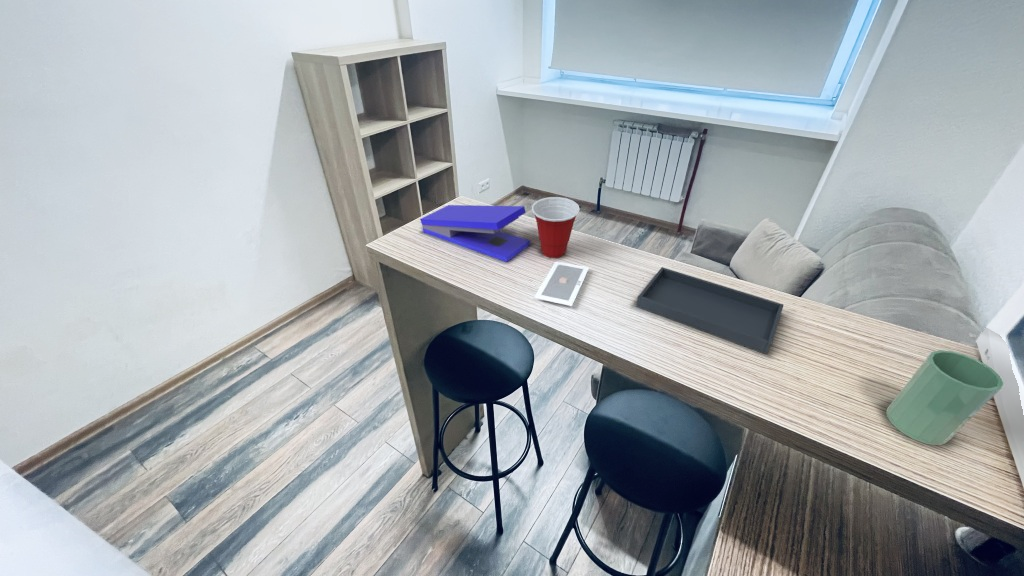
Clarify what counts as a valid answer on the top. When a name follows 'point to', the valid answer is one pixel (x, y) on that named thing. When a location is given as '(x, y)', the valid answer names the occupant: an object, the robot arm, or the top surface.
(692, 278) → the tray
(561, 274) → the touchpad
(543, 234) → the plastic cup
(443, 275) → the top surface
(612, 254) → the top surface
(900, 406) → the tumbler
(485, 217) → the stapler
